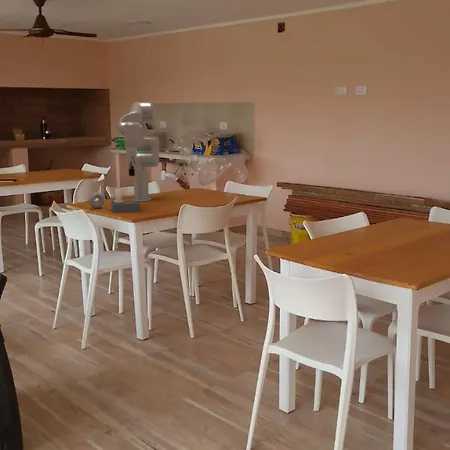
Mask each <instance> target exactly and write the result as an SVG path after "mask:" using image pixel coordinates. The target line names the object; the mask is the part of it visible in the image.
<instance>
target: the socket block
mask: <svg viewBox="0 0 450 450" xmlns="http://www.w3.org/2000/svg"><path fill="white" fill-rule="evenodd" d="M110 210H111V212H112V213H113V214H115V213H117V214H118V213H138V212H139V213H140V212H141V203H140V201H132V200H124V203H119V204H116V203H114V200H111V199H110Z"/></svg>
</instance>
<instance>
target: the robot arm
mask: <svg viewBox="0 0 450 450" xmlns="http://www.w3.org/2000/svg"><path fill="white" fill-rule="evenodd" d="M157 112H158V111H157V109H156V107H155V105H154V103H152V102H149V101H145V102H144V101H142V102H141V101H137V102H133V103H132V104H131V107H130V109H129V112H128V113H127V114H125V115H123V116H122V117H120V119H119V121H118V125H117V130H118V131H117V132H118V133H119V135H122V136H123V137H124V139H123V140H124V148H125V164H127V165H128V176H129V177H133V195H135V199H131V201H138V202H149V201H151V200H152V198H151V197H149V195H150V194H149V188H150V187H149V172H148V170H147V169H146V168H156V167H158V166H159V164H160V140H159V137H158V136H157V135H148V129H149V128H148V127H147V124H146V123H145V122H154V121H156V120H157V115H158V114H157ZM137 150H138V152H137ZM148 151H149V152H148ZM150 151H151V152H150Z"/></svg>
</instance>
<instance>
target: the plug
mask: <svg viewBox="0 0 450 450" xmlns="http://www.w3.org/2000/svg"><path fill="white" fill-rule="evenodd" d="M114 190H115V191H114V193H115V195H114V196H115V198H116V200H114V203H116V204H119V203H124V201H125V199H122V196H123V195H122V194H123V193H122V188H115V189H114Z"/></svg>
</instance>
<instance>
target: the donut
mask: <svg viewBox="0 0 450 450" xmlns="http://www.w3.org/2000/svg"><path fill="white" fill-rule="evenodd" d="M96 199H98V201H97V202H95V200H96ZM104 203H105V197H104V195H103V193H101V192H96V191H95V192H93V193H91V194H90V195H89V198H88V204H89V206H90V207H91V208H93V209H100V208H102V207H103V206H104Z"/></svg>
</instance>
